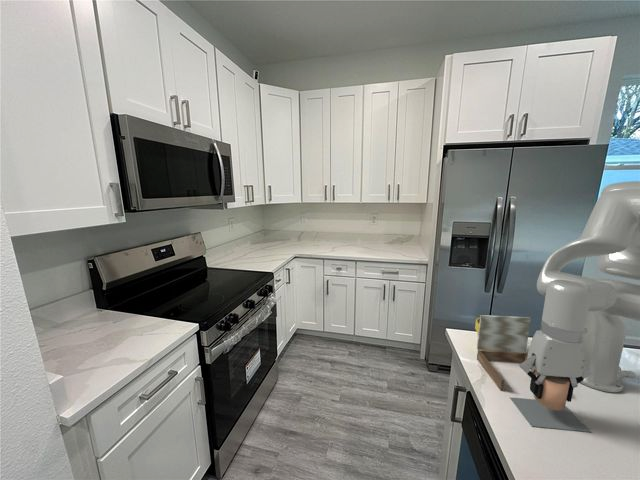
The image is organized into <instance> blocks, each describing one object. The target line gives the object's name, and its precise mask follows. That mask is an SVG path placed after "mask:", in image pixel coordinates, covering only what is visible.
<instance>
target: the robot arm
mask: <svg viewBox="0 0 640 480" xmlns="http://www.w3.org/2000/svg"><path fill="white" fill-rule="evenodd" d="M591 257H597V262H596V265H597V269H598V270H599V271H600V272H601V273H604V274H606V275H610V276H615V277H618V278H619V277H620V278H624V279H631V280H634V281H640V180H637V181H635V180H634V181H621V182H615V183H614V182H613V183H611V184H608V185H606V186H604V188H602V189H601V192H600V196H598V199H597V200H596V202H595V205H594V206H593V209H592V211H591V213H590V216H589V217H588V220H587V222H586V224H585V227H584V229H583V230H582V233H581V235H580V236H579V238H576V239H575V240H572V241H570V242H568V243H566V244H564V245H562V246H561V247H559V248H557V249H556V250H555V251H553V252H552V253H551V254H550V255H549V256H548V257H547V259H546V260H545V262H544V264H543V267H542V269H541V270H540V273H539V275H538V278H537V280H536V290H537V292H538V293H539V294H540V295H542V296H543V297H545V298H544V303H543V311H542V316H541V322H540V330H536V331H535V332H534V334H533V336H532V339H531V342H530V345H529V348H528V351H527V354H528V356H527V360H526V361H524V362H523V363H519V366H518V367H520V369H521V370H523V372H525V374H526V375H527V376H529V378H530V384H529V391H530V392H531V393H532V394H533V396H534V395H535V396H536V397H537V398H538V399H541V398H542V392H543V385H542V384H541V383H542V381H543V380H544V378H545V377H546V376H559V377H566V378H567V379H568V380H569V382H570V384H569V389H568V395H567V400H566V402H572V399H573V392H574V389H575V388H578V387H579V385H578V384H579V383H580V384H582V385H584V386H587V387H589V388H592V389H594V390H598V391H601V392H606V393H620V392H622V391H623V390H624V383H623V381H622V380H621V379H624V378H628V379H635V378H636V373H635V372H634V371H632V370H625V369H624V370H622V368H621V366H620V363H621V359H622V355H623V354H622V353H623V349H624V345H625V340H626V336H627V329H626V326H625V324H624V322H623V321H622V319H621V318H620V317H623V318H625V319H626V318H627V319H629V320H633V321H637V322H640V284H635V283H632V282H631V283H630V282H625V281H621V280H615V279H610V278H604V277H587V276H582V275H577V274H572V273H568V272H563V271H561V270H562V269H563V268H564V267H565V266H567V265H568V264H570V263H571V262H575V261H577V260H581V259H585V258H591ZM532 366H534V367H533V369H532V370H530V368H531V367H532ZM537 373H539V375H538V376H536V375H537Z"/></svg>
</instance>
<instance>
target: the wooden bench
mask: <svg viewBox="0 0 640 480" xmlns="http://www.w3.org/2000/svg"><path fill="white" fill-rule="evenodd" d="M479 318H480V323H479V332H478V335H477V342H476V343H477V344H476V350H477V355H476V360H477V361H478V362H479V364H480V365H481V366H482V368H483V369H484V370H485V372H486V373H487V374H488V376H489V377H490V379H491V380H492V381H493V383H494V384H495V385H496V387H497V388H498V389H499V391H500V392H503V391H504V383H505V380H504V378H503V377H502V376H501V374H500V373H499V372H498V371H497V370H496V368H495V367H494V366H493V365H492V363H491V362H498V363H499V362H500V363H501V362H502V363H513V364H514V363H516V364H521V363H523V362H524V361H526V360H527V356H528V352H527V348H528V347H527V346H528V343H529V342H528V340H529V333H530V328H531V327H530V326H531V320H532V317H529V316H528V317H527V316H511V315H510V316H507V315H486V314H485V315H482V314H480V315H479ZM487 350H493V351H487ZM533 367H534V366H532V367H531V368H530V369H531V370H532V369H533ZM531 370H530V371H531ZM536 377H537V375H536Z"/></svg>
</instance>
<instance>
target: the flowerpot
mask: <svg viewBox="0 0 640 480" xmlns="http://www.w3.org/2000/svg"><path fill="white" fill-rule="evenodd" d="M538 375H539V373H537V376H538ZM537 376H536V377H537ZM541 384H542V385H543V392H542V398H541V399H538V398H537V397H536V396H535V395H534V394H533V398H534V399H535V400H537V401H538V402H539V403H540V404H542V405H543V406H545V407H547V408H550V409H552V410H557V411H562V410H564V409H565V406H566V404H567V401H566V400H567V395H568V389H569V384H570V382H569V380H568V379H567V378H566V377H559V376H546V377H545V378H544V380H543V381H542V383H541Z"/></svg>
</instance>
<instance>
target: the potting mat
mask: <svg viewBox="0 0 640 480" xmlns="http://www.w3.org/2000/svg"><path fill="white" fill-rule="evenodd" d="M509 399H510V400H511V401H512V403H513V404H514V405H515V408H517V410H518V411H519V413H521V414H522V416H523V417H524V419H525V420H526V421H527V423H528V424H529V425H530V426H531V427H533V428H542V429H553V430H561V431H571V432H572V431H573V432H574V431H575V432H583V433H584V432H585V433H592V431H591V430H590V429H589V427H588V426H587V425H585V424H584V423H583V422H582V421H581V419H579V418H578V417H577V415H576V414H574V412H572V411H571V409H570V408H569V407H568V406H566V405H565V409H564V410H562V411H557V410H552V409H550V408H547V407H545V406H543V405H542V404H540V403H539V402H538V401H537V400H536V399H535V398H534V399H533V398H524V397H523V398H521V397H520V398H519V397H511V396H510V397H509Z"/></svg>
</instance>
